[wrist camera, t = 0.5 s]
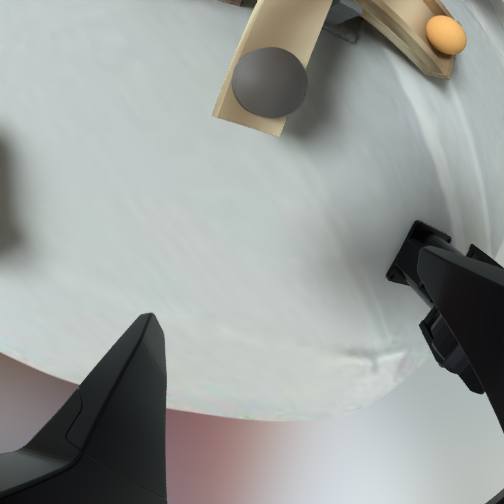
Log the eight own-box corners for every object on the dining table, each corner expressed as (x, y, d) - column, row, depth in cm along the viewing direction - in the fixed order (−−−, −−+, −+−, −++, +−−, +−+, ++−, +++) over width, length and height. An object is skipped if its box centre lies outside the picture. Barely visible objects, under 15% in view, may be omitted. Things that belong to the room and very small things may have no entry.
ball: (445, 32, 13) (476, 34, 10) (438, 60, 14) (470, 65, 12) (421, 8, 12) (454, 6, 9) (413, 37, 13) (447, 37, 10)
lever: (438, 23, 14) (461, 26, 12) (385, 181, 20) (408, 193, 18) (302, -90, 6) (324, -102, 4) (207, 114, 13) (221, 119, 11)
